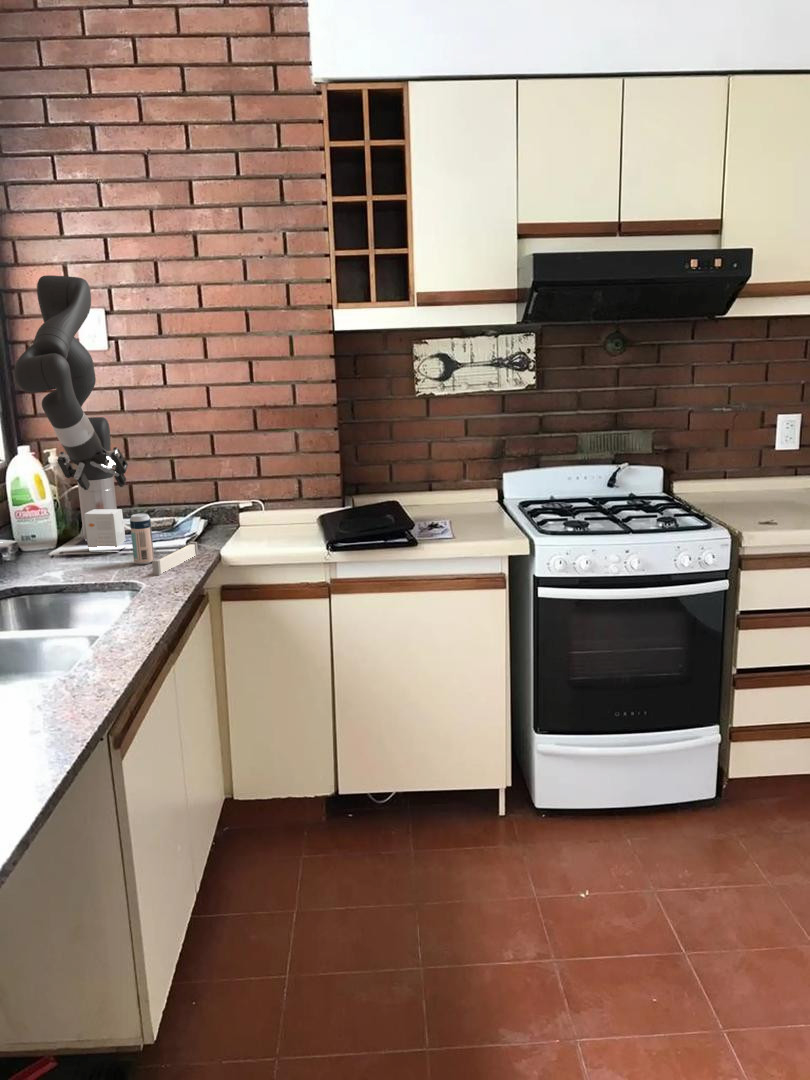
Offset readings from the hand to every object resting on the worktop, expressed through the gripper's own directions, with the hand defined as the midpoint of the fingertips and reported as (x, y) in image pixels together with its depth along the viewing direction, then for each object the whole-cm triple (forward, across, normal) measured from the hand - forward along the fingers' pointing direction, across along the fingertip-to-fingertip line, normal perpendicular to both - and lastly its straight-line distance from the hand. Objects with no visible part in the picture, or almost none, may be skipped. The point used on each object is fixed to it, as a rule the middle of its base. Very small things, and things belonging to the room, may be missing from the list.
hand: (105, 485), depth 197 cm
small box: (+28, +12, -4) cm, 30 cm away
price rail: (+21, -11, +7) cm, 25 cm away
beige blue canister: (+22, -3, +6) cm, 23 cm away
